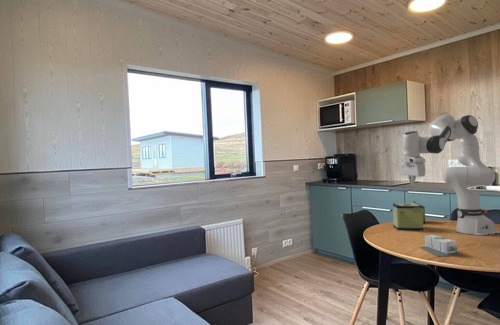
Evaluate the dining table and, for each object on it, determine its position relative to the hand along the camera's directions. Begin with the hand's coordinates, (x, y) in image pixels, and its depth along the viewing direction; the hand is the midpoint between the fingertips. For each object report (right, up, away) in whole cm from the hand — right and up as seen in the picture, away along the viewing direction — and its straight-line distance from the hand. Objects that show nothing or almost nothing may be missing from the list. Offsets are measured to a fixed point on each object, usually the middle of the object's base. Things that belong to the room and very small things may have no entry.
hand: (412, 183), depth 182 cm
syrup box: (0, -28, -17) cm, 33 cm away
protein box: (+9, -31, +23) cm, 39 cm away
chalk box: (+23, -30, +40) cm, 55 cm away
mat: (0, -32, -26) cm, 41 cm away
